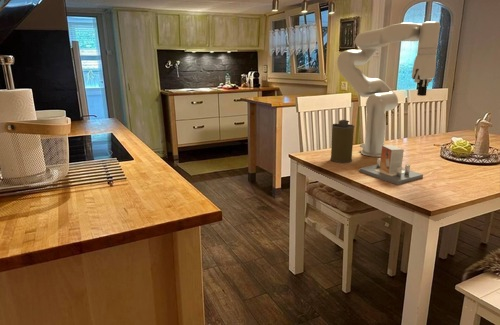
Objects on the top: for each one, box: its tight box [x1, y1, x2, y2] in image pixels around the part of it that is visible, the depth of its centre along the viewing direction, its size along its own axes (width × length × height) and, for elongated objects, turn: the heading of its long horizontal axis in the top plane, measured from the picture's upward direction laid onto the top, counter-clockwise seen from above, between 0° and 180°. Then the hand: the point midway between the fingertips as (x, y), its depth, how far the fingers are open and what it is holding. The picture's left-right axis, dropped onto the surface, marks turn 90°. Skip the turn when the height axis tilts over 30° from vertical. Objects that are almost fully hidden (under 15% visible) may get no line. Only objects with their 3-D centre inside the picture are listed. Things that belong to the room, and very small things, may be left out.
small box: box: [380, 144, 405, 174], centre depth 145 cm, size 8×6×10 cm
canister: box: [330, 119, 355, 164], centre depth 166 cm, size 11×10×20 cm
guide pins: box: [376, 157, 411, 177], centre depth 146 cm, size 14×7×4 cm, turn 29°
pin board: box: [358, 163, 424, 186], centre depth 146 cm, size 20×16×2 cm
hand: (421, 95), depth 151 cm, fingers closed
